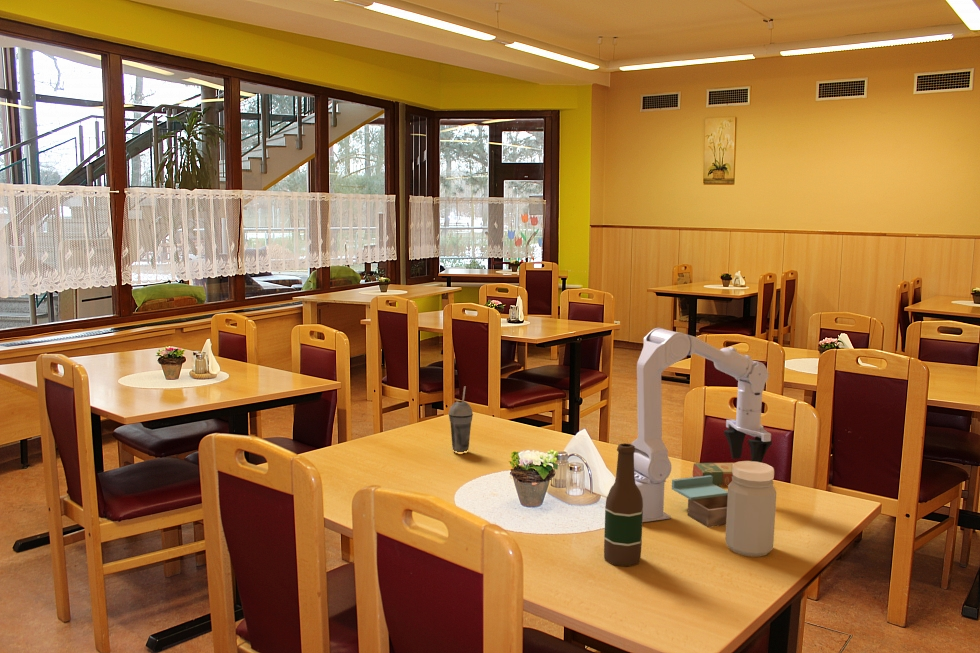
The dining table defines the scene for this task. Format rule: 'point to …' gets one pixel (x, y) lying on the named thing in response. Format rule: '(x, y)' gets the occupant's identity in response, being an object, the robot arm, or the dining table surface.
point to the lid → (697, 487)
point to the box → (709, 510)
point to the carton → (715, 472)
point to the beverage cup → (460, 424)
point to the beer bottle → (624, 513)
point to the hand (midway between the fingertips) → (745, 462)
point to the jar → (751, 509)
